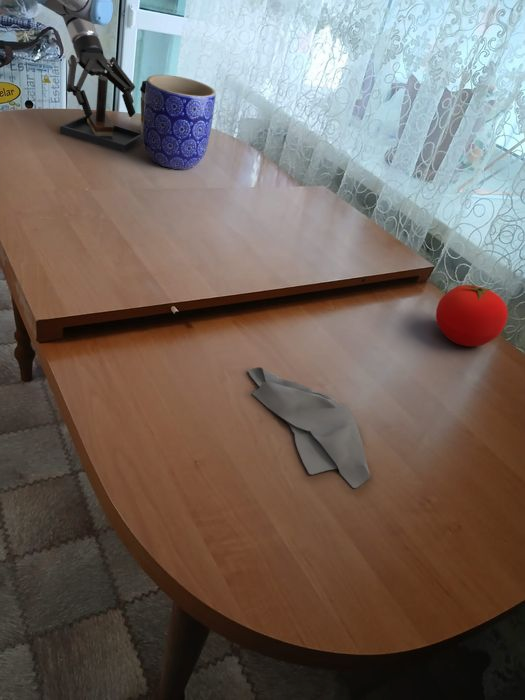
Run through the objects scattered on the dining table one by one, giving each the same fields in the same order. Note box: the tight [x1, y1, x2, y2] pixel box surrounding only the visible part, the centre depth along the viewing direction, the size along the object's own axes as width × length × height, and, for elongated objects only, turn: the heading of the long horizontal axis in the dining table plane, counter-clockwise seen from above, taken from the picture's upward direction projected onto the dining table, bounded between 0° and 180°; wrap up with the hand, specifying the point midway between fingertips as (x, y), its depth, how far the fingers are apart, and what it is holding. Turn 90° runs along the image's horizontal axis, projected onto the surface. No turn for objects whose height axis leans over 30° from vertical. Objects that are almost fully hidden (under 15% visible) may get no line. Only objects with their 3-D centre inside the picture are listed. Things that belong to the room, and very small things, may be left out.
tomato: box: [435, 280, 509, 347], centre depth 109 cm, size 12×14×11 cm
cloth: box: [247, 366, 371, 490], centre depth 83 cm, size 26×14×2 cm, turn 27°
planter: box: [143, 74, 217, 170], centre depth 149 cm, size 18×18×21 cm
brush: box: [87, 75, 114, 136], centre depth 155 cm, size 8×5×15 cm, turn 31°
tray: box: [59, 115, 144, 153], centre depth 159 cm, size 20×14×2 cm
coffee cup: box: [139, 80, 147, 133], centre depth 165 cm, size 8×8×15 cm
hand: (111, 115), depth 154 cm, fingers open, 13 cm apart
